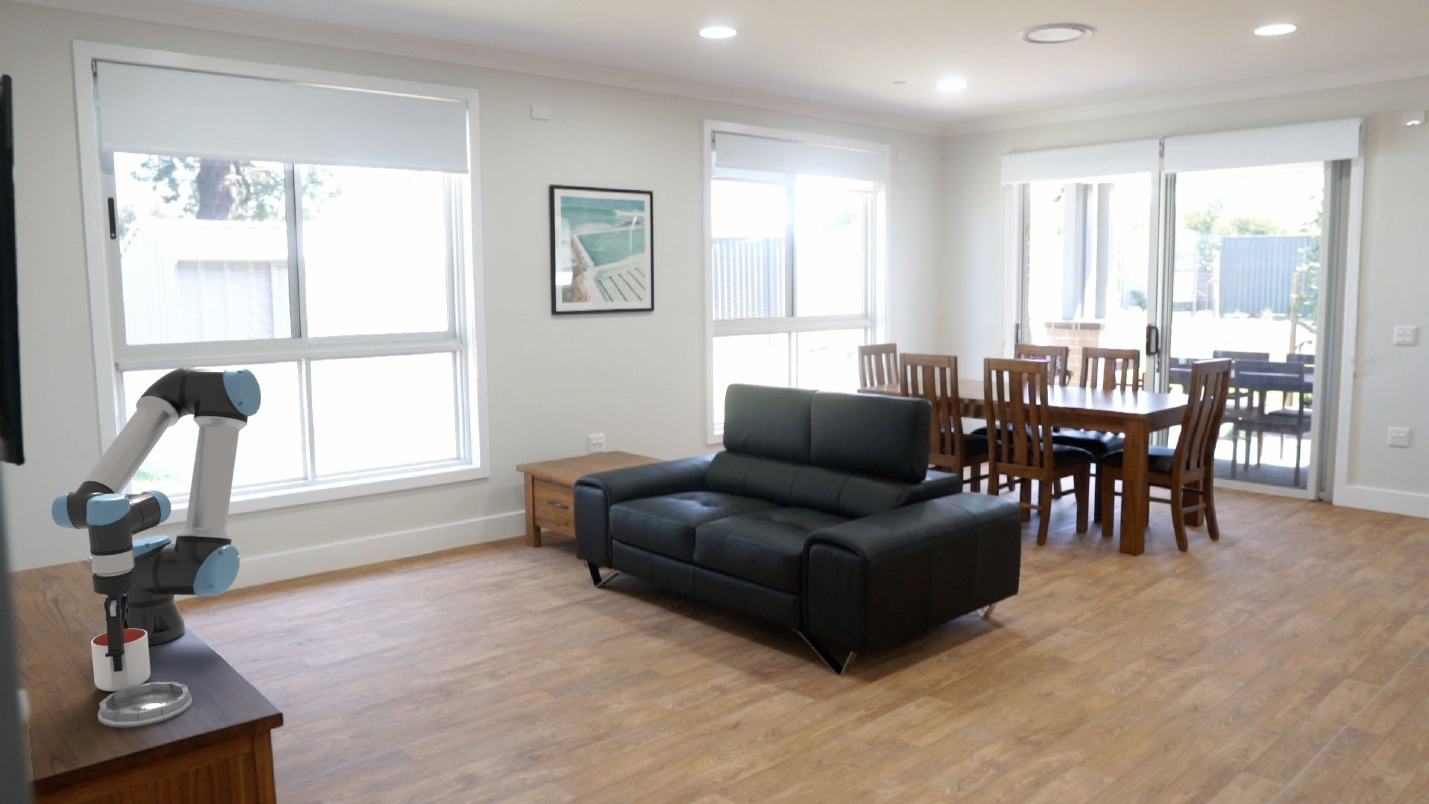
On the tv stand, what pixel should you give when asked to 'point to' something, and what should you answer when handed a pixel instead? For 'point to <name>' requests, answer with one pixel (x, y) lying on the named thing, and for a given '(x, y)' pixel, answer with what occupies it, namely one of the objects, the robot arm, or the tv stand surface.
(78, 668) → the tv stand surface
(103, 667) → the cup
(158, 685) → the faceted steel dish
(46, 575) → the tv stand surface
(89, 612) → the tv stand surface
